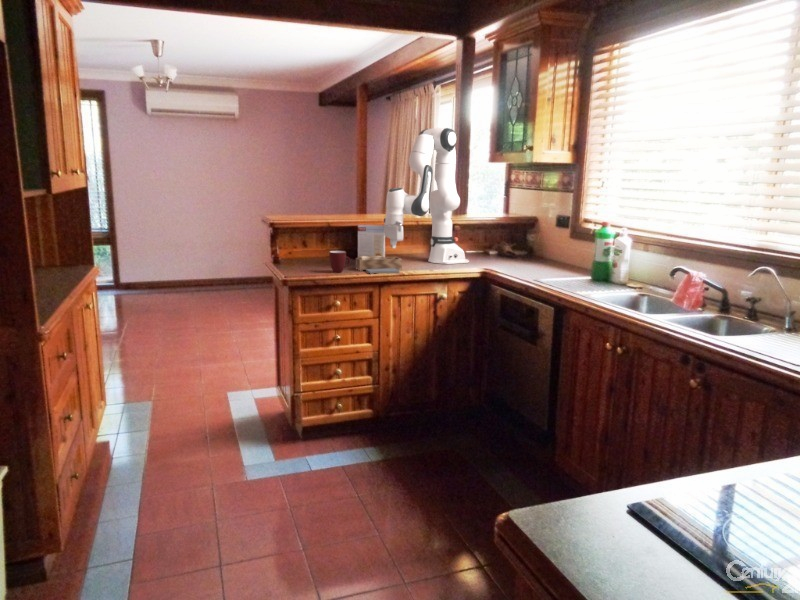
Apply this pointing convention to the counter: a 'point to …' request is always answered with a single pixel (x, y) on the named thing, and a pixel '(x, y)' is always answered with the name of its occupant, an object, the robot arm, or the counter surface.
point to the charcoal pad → (382, 270)
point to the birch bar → (370, 257)
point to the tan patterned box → (379, 263)
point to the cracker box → (371, 240)
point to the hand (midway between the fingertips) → (393, 248)
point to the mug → (338, 260)
